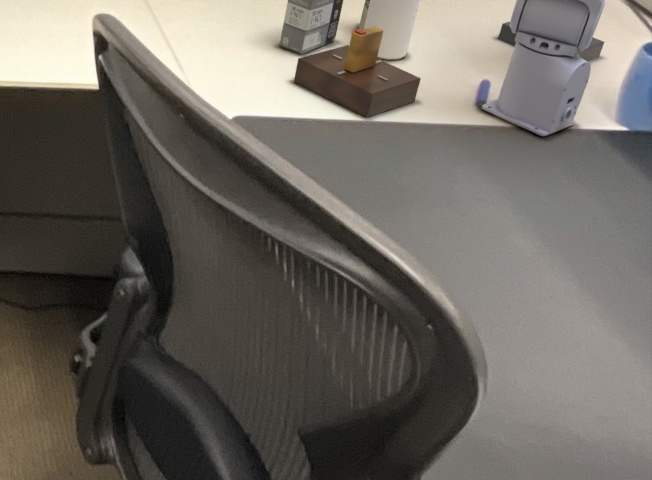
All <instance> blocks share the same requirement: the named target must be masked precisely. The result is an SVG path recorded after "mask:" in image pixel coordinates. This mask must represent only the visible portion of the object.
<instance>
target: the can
mask: <svg viewBox="0 0 652 480" xmlns="http://www.w3.org/2000/svg"><path fill="white" fill-rule="evenodd" d="M420 3H421V0H370V4H369V8H368V13H367V17H366V21H365V26H364V29H367V28H371V27H378V28H380V29H382V30H383V35H382V39H381V43H380V47H379V52H378V56H377V59H380V60H383V61H385V60H386V61H399V60H401V59H403V58H404V57H406V55H407V53H408V50H409V46H410V42H411V38H412V34H413V31H414V26H415V23H416V19H417V16H418V15H417V14H418V11H419V7H420Z"/></svg>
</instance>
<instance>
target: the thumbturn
mask: <svg viewBox="0 0 652 480" xmlns="http://www.w3.org/2000/svg"><path fill="white" fill-rule="evenodd" d="M382 35H383V30H382V29H380V28H378V27H371V28H367V29H363V30H361V29H359V28H357V29H355V30H353V31H352V32H351V35H350V36H351V37H350V41H349V44H348V45H349V50H348V54H347V59H346V63H345V68H344V69H346V70H348V71H350V72H352V73H354V72H357V71H360V70H364V69H367V68H371V67H374V66H375V64H376V60H377V59H378V58H377V56H378V52H379V47H380V43H381V39H382Z"/></svg>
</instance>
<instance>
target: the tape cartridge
mask: <svg viewBox="0 0 652 480" xmlns="http://www.w3.org/2000/svg"><path fill="white" fill-rule="evenodd" d="M286 3H287V4H286V9H285V14H284V20H283V25H282V29H281V34H280V40H279V47H281V48H283V49H287V50H289V51H291V52H293V53H296V54H299V55H303V54H305V53H308V52H310V51H313V50H315V49H317V48H320V47H322V46H326V45H327V44H329V43H333V42H334V41H336V37H337V32H338V28H339V22H340V18H341V13H342V9H343V4H344V0H287V2H286Z"/></svg>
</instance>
